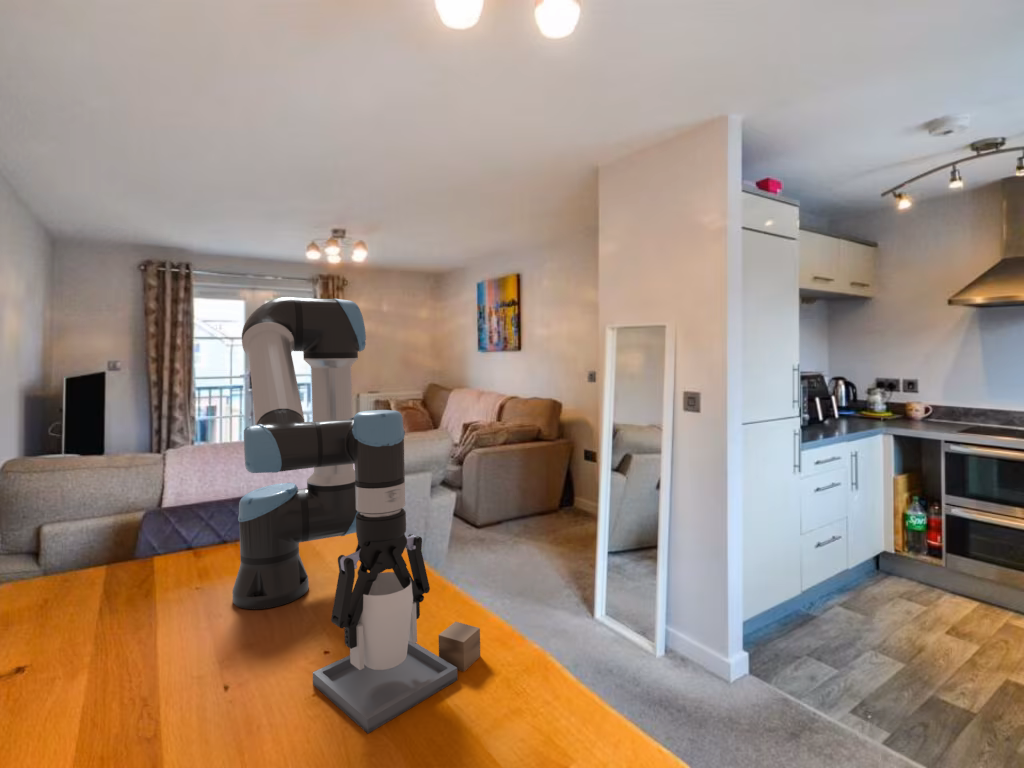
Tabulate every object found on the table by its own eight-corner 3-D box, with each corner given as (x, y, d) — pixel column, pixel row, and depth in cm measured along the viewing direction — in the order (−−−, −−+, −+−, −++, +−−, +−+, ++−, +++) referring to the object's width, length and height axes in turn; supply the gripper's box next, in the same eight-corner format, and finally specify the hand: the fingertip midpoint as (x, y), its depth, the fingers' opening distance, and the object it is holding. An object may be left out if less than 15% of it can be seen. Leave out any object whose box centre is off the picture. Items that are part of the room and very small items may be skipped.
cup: (400, 678, 77) (398, 598, 76) (344, 672, 78) (341, 593, 78) (423, 645, 85) (421, 573, 85) (372, 640, 87) (369, 570, 87)
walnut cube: (439, 664, 87) (438, 634, 87) (456, 649, 92) (455, 621, 91) (464, 672, 85) (463, 642, 85) (480, 656, 89) (479, 628, 89)
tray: (313, 684, 82) (312, 672, 82) (398, 643, 94) (398, 632, 93) (367, 733, 71) (367, 719, 71) (457, 680, 83) (457, 667, 82)
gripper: (326, 532, 71) (332, 695, 71) (450, 500, 86) (453, 633, 87) (301, 521, 76) (306, 673, 77) (422, 492, 91) (425, 619, 92)
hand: (384, 652), depth 82 cm, fingers closed on cup, 9 cm apart
